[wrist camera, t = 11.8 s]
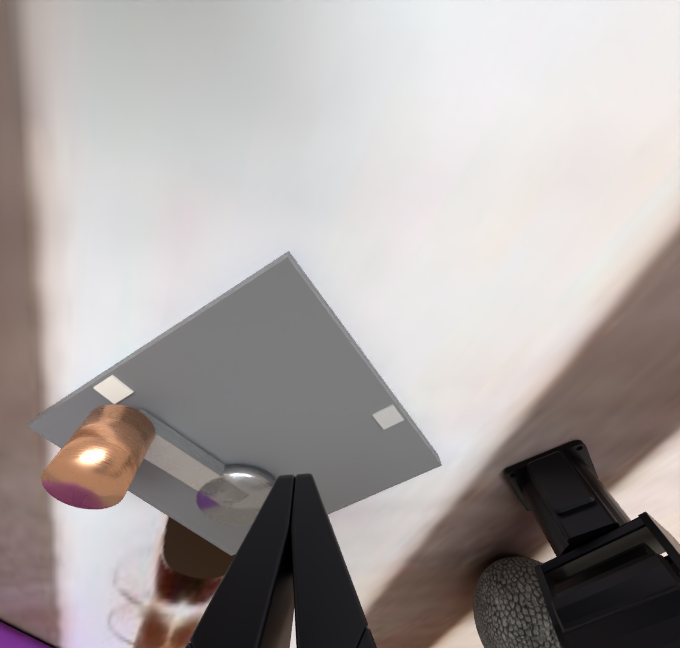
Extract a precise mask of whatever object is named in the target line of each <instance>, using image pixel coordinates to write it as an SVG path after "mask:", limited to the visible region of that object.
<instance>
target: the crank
mask: <svg viewBox="0 0 680 648" xmlns="http://www.w3.org/2000/svg"><path fill="white" fill-rule="evenodd" d="M143 459H146V460H148V461H149V462H151V463H153V464H154V465H156V466H157V467H159V468H161V469H162V470H164V471H166V472H167V473H169V474H171V475H172V476H174V477H176V478H177V479H179V480H180V481H182V482H184V483H185V484H187V485H189V486H190V487H192V488H194V489H195V490H197V491H198V493H197V497H196V502H197V505H198V507H199V509H200V510H201V511H202V512H203V513H204V514H205V515H206V516H207V517H209V518H211V519H213V520H215V521H217V522H220V523H224V524H229V525H251V524H252V523H253V521H254V520H255V518H256V516H257V514H258V512H259V510H260V508H261V507H262V505H263V503H264V501H265V499H266V497H267V496H268V494H269V492H270V490H271V488H272V486H273V484H274V483H275V481H276V479H275V478H274V476H273V475H271V474H270V473H269V472H267V471H265V470H263V469H261V468H259V467H256V466H252V465H247V464H229V465H224V464H223V463H221V462H220V461H218V460H217V459H216V458H214V457H213V456H211V455H210V454H208V453H207V452H205V451H204V450H202V449H201V448H199V447H198V446H196V445H195V444H193V443H192V442H190V441H189V440H188V439H186V438H185V437H183V436H182V435H180V434H179V433H177V432H176V431H174V430H173V429H171V428H170V427H168V426H167V425H165V424H164V423H162V422H161V421H160V420H158V419H157V418H155V417H154V416H152V415H151V414H149V413H148V412H146V411H145V410H143V409H142V408H140V409H139V410H136V409H133V408H131V407H127V406H123V405H116V404H110V405H103V406H100V407H97V408H95V409H94V410H92V411H91V412H90V413H89V415H88V416H87V417H86V418H85V420H84V421H83V422H82V423H81V425H80V426H79V427H78V428H77V430H76V431H75V432H74V434H73V435H72V436H71V437H70V439H69V440H68V441H67V442H66V444H65V445H64V446H63V447H62V449H61V450H60V451H59V453H58V454H57V455H56V456H55V458H54V459H53V460H52V461H51V463H50V464H49V465H48V466H47V468H46V469H45V470H44V472H43V474H42V477H41V480H42V484H43V486H44V488H45V489H46V491H47V492H48V493H49V494H50V495H52V496H53V497H54V498H56V499H57V500H59V501H61V502H63V503H65V504H68V505H71V506H74V507H78V508H83V509H104V508H109V507H112V506H114V505H116V504H118V503H119V502H120V501H121V500H122V499H123V497H124V496H125V494H126V492H127V490H128V488H129V486H130V484H131V482H132V480H133V478H134V477H135V475H136V473H137V471H138V469H139V467H140V465H141V463H142V461H143Z"/></svg>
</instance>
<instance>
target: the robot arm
mask: <svg viewBox="0 0 680 648" xmlns="http://www.w3.org/2000/svg"><path fill="white" fill-rule="evenodd" d="M504 473H505V475H506V477H507V479H508V480H509V482H510V484H511V485H512V487H513V489H514V490H515V492H516V494H517V495H518V497H519V498H520V500H521V502H522V503H523V505H524V507H525V508H526V510H527V511H532V513H533V514H534V516H535V518H536V520H537V522H538V524H539V525H540V527H541V529H542V531H543V533H544V534H545V536H546V538H547V540H548V542H549V543H550V545H551V547H552V549H553V551H554V553H555V554H556V556H557V557H556V558H554V559H551V560H549V561H547V562H545V563H543V564H541V563H540V564H538V565H536V566H534V569H535V572H536V575H537V578H538V579H537V581H538V584H539V587H540V590H541V592H542V595H543V598H544V601H545V604H546V607H547V610H548V613H549V616H550V618H551V621H552V624H553V627H554V630H555V633H556V636H557V638H558V641H559V644H560V647H561V648H680V544H679V543H678V542H677V541H676V539H675V538H674V537H673V536H672V535H671V534H670V533H669V532H668V531H667V530H665V529H664V528H663V527H662V526H661V525H660V524H659V523H658V522H657V521H656V520H654V519H653V518H652V517H651V516H650V515H649V514H648V513H647V512H644V513H642V514H640V515H638V516H639V517H638V518H636V519H634V520H632V521H631V520H630V518H629V517H628V516H627V515H626V513H625V512H624V511H623V510H622V508H621V507H620V506H619V504H618V503H617V502H616V501H615V499H614V498H613V497H612V496H611V494H610V493H609V492H608V491H607V489H606V488H605V487H604V485H603V484H602V483H601V482H600V480H599V479H598V477H597V474H596V471H595V469H594V466H593V464H592V461H591V458H590V456H589V453H588V450H587V448H586V446H585V444H584V443H583V442H582V441H581V440H576V441H573V442H571V443H568V444H566V445H563V446H561V447H558V448H556V449H553V450H551V451H549V452H546V453H544V454H541V455H539V456H536V457H534V458H531V459H529V460H527V461H524V462H522V463H519V464H517V465H514V466H512V467H509V468H507V469H506V470H505V472H504ZM664 552H667V554H668V556H665V557H663V556H662V555H660V554H662V553H664ZM294 608H295V626H296V645H297V648H377V647H376V644H375V642H374V639H373V636H372V633H371V631H370V629H369V628H368V623H367V620H366V618H365V615H364V612H363V609H362V607H361V604H360V601H359V599H358V596H357V593H356V590H355V588H354V585H353V582H352V580H351V577H350V574H349V572H348V569H347V566H346V563H345V561H344V558H343V555H342V553H341V550H340V547H339V544H338V542H337V539H336V536H335V534H334V531H333V528H332V525H331V523H330V520H329V517H328V515H327V512H326V509H325V506H324V504H323V501H322V498H321V496H320V493H319V490H318V487H317V485H316V482H315V479H314V477H313V475H312V474H311V473H307V474H298V475H296V477H295V475H280V476H279V477H278V478H277V479H276V481H275V483H274V484H273V486H272V488H271V490H270V492H269V494H268V496H267V497H266V499H265V501H264V503H263V505H262V507H261V508H260V510H259V512H258V514H257V516H256V518H255V520H254V521H253V523H252V525H251V527H250V529H249V531H248V533H247V534H246V536H245V538H244V540H243V542H242V544H241V545H240V547H239V549H238V551H237V553H236V555H235V557H234V558H233V560H232V562H231V564H230V566H229V568H228V570H227V571H226V573H225V575H224V577H223V579H222V581H221V582H220V584H219V586H218V588H217V590H216V592H215V594H214V595H213V597H212V599H211V601H210V603H209V605H208V607H207V608H206V610H205V612H204V614H203V616H202V618H201V619H200V621H199V623H198V625H197V627H196V629H195V631H194V632H193V634H192V636H191V638H190V642H191V643H188V644H187V645H186V647H185V648H290V640H291V631H292V622H293V614H294Z"/></svg>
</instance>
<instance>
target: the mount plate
mask: <svg viewBox="0 0 680 648" xmlns="http://www.w3.org/2000/svg"><path fill="white" fill-rule="evenodd" d="M110 404H116V405H123V406H127V407H131V408H133V409H136V410H139V409H140V408H142V409H143V410H145V411H146V412H148V413H149V414H151V415H152V416H154V417H155V418H157V419H158V420H160V421H161V422H162V423H164V424H165V425H167V426H168V427H170V428H171V429H173V430H174V431H176V432H177V433H179V434H180V435H182V436H183V437H185V438H186V439H188V440H189V441H190V442H192V443H193V444H195V445H196V446H198V447H199V448H201V449H202V450H204V451H205V452H207V453H208V454H210V455H211V456H213V457H214V458H216V459H217V460H218V461H220V462H221V463H223V464H224V465H229V464H247V465H252V466H256V467H259V468H261V469H263V470H265V471H267V472H269V473H270V474H271V475H273V476H274V478H275V479H277V478H278V477H279V476H280V475H295V477H296V475H298V474H307V473H311V474H312V475H313V477H314V479H315V482H316V485H317V487H318V490H319V493H320V496H321V498H322V501H323V504H324V506H325V509H326V512H327V515H328V514H330V513H332V512H334V511H337V510H339V509H341V508H344V507H346V506H348V505H351V504H353V503H355V502H358V501H360V500H362V499H365V498H367V497H369V496H372V495H374V494H376V493H379V492H381V491H383V490H386V489H388V488H390V487H393V486H395V485H397V484H400V483H402V482H404V481H406V480H409V479H411V478H413V477H416V476H418V475H420V474H423V473H425V472H427V471H430V470H432V469H434V468H437V467H439V466H441V462H440V459H439V456H438V454H437V453H436V451H435V450H434V449H433V447H432V446H431V445H430V443H429V442H428V441H427V439H426V438H425V436H424V435H423V434H422V432H421V431H420V430H419V428H418V427H417V426H416V424H415V423H414V421H413V420H412V419H411V417H410V416H409V415H408V413H407V412H406V411H405V409H404V408H403V406H402V405H401V404H400V402H399V401H398V400H397V398H396V397H395V396H394V394H393V393H392V391H391V390H390V389H389V387H388V386H387V385H386V383H385V382H384V381H383V379H382V378H381V376H380V375H379V374H378V372H377V371H376V370H375V368H374V367H373V366H372V364H371V363H370V361H369V360H368V359H367V357H366V356H365V355H364V353H363V352H362V350H361V349H360V348H359V346H358V345H357V344H356V342H355V341H354V340H353V338H352V337H351V335H350V334H349V333H348V331H347V330H346V329H345V327H344V326H343V325H342V323H341V322H340V320H339V319H338V318H337V316H336V315H335V314H334V312H333V311H332V310H331V308H330V307H329V305H328V304H327V303H326V301H325V300H324V299H323V297H322V296H321V295H320V293H319V292H318V290H317V289H316V288H315V286H314V285H313V284H312V282H311V281H310V280H309V278H308V277H307V275H306V274H305V273H304V271H303V270H302V269H301V267H300V266H299V265H298V263H297V262H296V260H295V259H294V258H293V256H292V255H291V254H290V252H289V251H288V252H287V253H285V254H284V255H282V256H281V257H279V258H278V259H276V260H275V261H273V262H272V263H270V264H269V265H267V266H265V267H264V268H262V269H261V270H259V271H258V272H256V273H255V274H253V275H252V276H250V277H249V278H247V279H246V280H244V281H243V282H241V283H239V284H238V285H236V286H235V287H233V288H232V289H230V290H229V291H227V292H226V293H224V294H223V295H221V296H220V297H218V298H216V299H215V300H213V301H212V302H210V303H209V304H207V305H206V306H204V307H203V308H201V309H200V310H198V311H197V312H195V313H193V314H192V315H190V316H189V317H187V318H186V319H184V320H183V321H181V322H180V323H178V324H177V325H175V326H174V327H172V328H171V329H169V330H167V331H166V332H164V333H163V334H161V335H160V336H158V337H157V338H155V339H154V340H152V341H151V342H149V343H148V344H146V345H144V346H143V347H141V348H140V349H138V350H137V351H135V352H134V353H132V354H131V355H129V356H128V357H126V358H125V359H123V360H121V361H120V362H118V363H117V364H115V365H114V366H112V367H111V368H109V369H108V370H106V371H105V372H103V373H102V374H100V375H99V376H97V377H95V378H94V379H92V380H91V381H89V382H88V383H86V384H85V385H83V386H82V387H80V388H79V389H77V390H76V391H74V392H72V393H71V394H69V395H68V396H66V397H65V398H63V399H62V400H60V401H59V402H57V403H56V404H54V405H53V406H51V407H50V408H48V409H46V410H45V411H43V412H42V413H40V414H39V415H37V416H36V417H35V418H34V419H33V420H32V422H31V423H30V424H29V425H28V426H27V427H28V428H30V429H31V430H33V431H35V432H36V433H38V434H39V435H41V436H43V437H44V438H46V439H47V440H49V441H50V442H52V443H54V444H55V445H57V446H58V447H60V448H62V447H63V446H64V445H65V444H66V442H67V441H68V440H69V439H70V437H71V436H72V435H73V434H74V432H75V431H76V430H77V428H78V427H79V426H80V425H81V423H82V422H83V421H84V420H85V418H86V417H87V416H88V415H89V413H90V412H91V411H92V410H94V409H95V408H97V407H100V406H103V405H110ZM128 491H130V492H131V493H133V494H134V495H136V496H138V497H139V498H141V499H142V500H144V501H145V502H147V503H149V504H150V505H152V506H153V507H155V508H157V509H158V510H160V511H161V512H163V513H164V514H166V515H168V516H169V517H171V518H172V519H174V520H176V521H177V522H179V523H180V524H182V525H183V526H185V527H187V528H188V529H190V530H191V531H193V532H195V533H196V534H198V535H199V536H201V537H202V538H204V539H206V540H207V541H209V542H211V543H212V544H214V545H215V546H217V547H218V548H220V549H221V550H223V551H225V552H226V553H228V554H229V555H231V556H232V555H235V554H236V553H237V551H238V549H239V547H240V545H241V544H242V542H243V540H244V538H245V536H246V534H247V533H248V531H249V529H250V527H251V525H252V524H251V525H229V524H224V523H220V522H217V521H215V520H213V519H211V518H209V517H207V516H206V515H205V514H204V513H203V512H202V511H201V510H200V509H199V507H198V505H197V502H196V497H197V493H198V491H197V490H195V489H194V488H192V487H190V486H189V485H187V484H185V483H184V482H182V481H180V480H179V479H177V478H176V477H174V476H172V475H171V474H169V473H167V472H166V471H164V470H162V469H161V468H159V467H157V466H156V465H154V464H153V463H151V462H149V461H148V460H146V459H143V461H142V463H141V465H140V467H139V469H138V471H137V473H136V475H135V477H134V478H133V480H132V482H131V484H130V486H129V488H128Z"/></svg>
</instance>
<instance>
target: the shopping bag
mask: <svg viewBox="0 0 680 648" xmlns="http://www.w3.org/2000/svg"><path fill="white" fill-rule="evenodd" d="M0 648H52V647H50V646H48V645H46V644H44V643H42V642H40V641H38V640H36V639H34V638H32V637H30V636H28V635H26V634H24V633H22V632H20V631H18V630H16V629H14V628H12V627H10V626H8V625H6V624H4V623H2V622H0Z"/></svg>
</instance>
